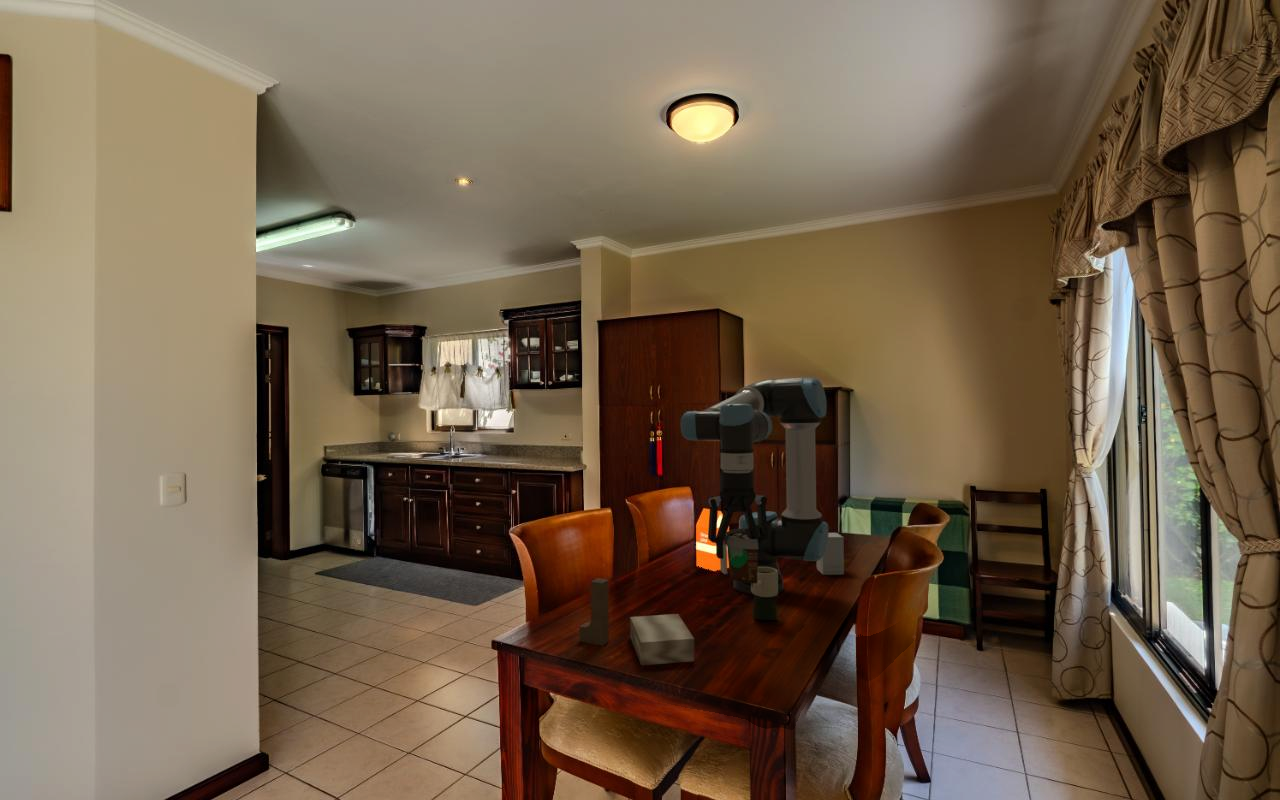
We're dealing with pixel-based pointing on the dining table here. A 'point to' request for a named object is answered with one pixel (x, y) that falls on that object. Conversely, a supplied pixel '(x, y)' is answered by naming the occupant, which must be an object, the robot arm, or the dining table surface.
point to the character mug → (765, 593)
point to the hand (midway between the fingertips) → (738, 571)
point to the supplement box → (832, 556)
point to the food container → (742, 556)
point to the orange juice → (707, 543)
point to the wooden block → (597, 615)
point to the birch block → (661, 639)
